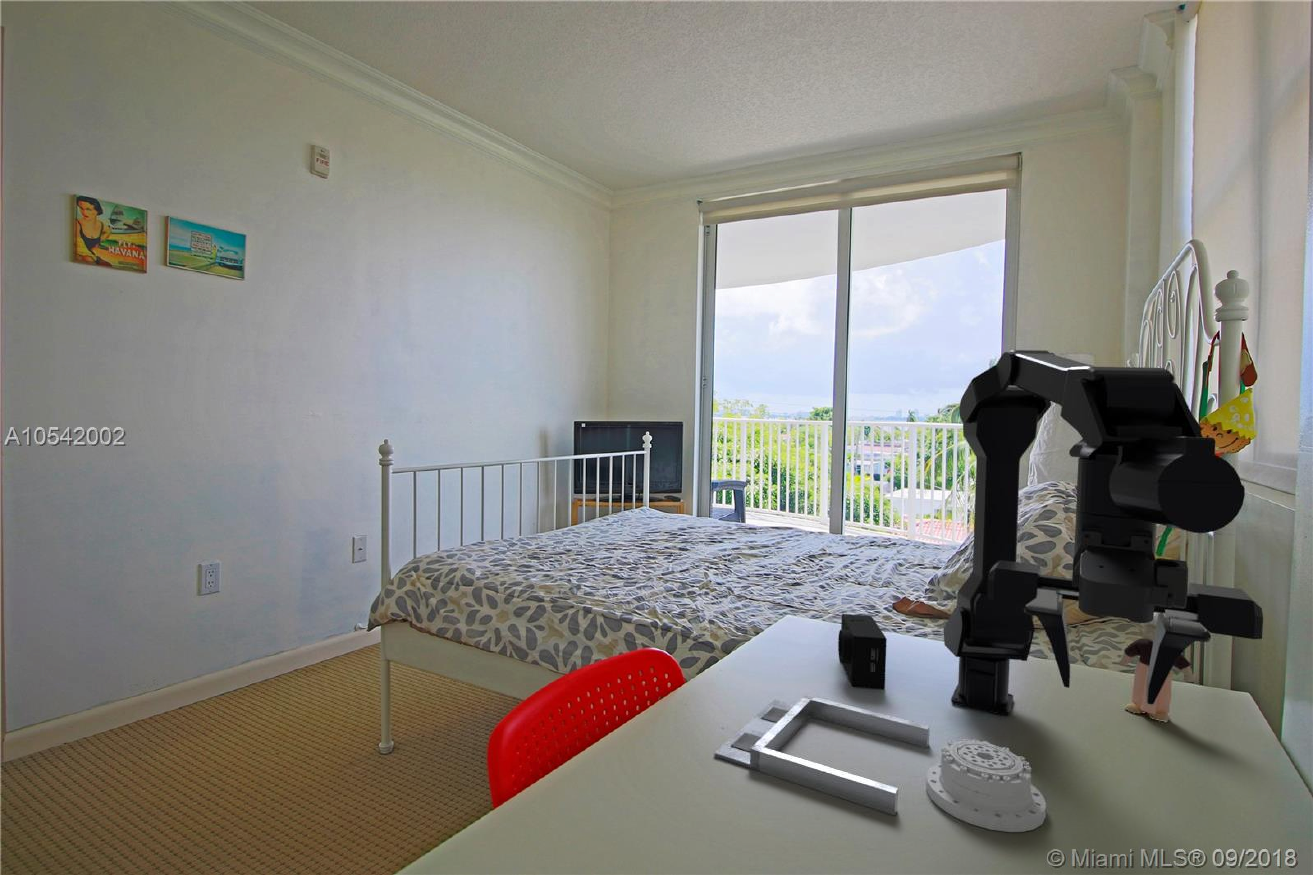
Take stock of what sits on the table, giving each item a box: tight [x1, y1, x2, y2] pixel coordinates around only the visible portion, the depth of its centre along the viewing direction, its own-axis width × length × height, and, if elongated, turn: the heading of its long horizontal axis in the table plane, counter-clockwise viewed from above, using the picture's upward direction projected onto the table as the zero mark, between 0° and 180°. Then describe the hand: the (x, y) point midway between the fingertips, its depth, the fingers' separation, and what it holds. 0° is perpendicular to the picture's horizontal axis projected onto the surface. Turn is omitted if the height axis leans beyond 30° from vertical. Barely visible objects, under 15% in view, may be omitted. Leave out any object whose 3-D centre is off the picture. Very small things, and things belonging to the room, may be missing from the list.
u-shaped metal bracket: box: [713, 694, 930, 816], centre depth 71 cm, size 16×18×2 cm
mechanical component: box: [925, 738, 1047, 833], centre depth 62 cm, size 10×4×10 cm
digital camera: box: [837, 613, 887, 691], centre depth 93 cm, size 10×5×7 cm, turn 173°
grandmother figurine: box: [1118, 612, 1196, 721], centre depth 82 cm, size 8×4×13 cm, turn 47°
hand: (1107, 694), depth 58 cm, fingers open, 6 cm apart
